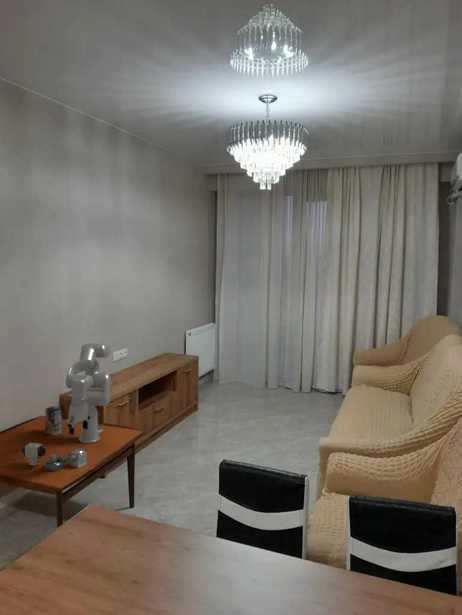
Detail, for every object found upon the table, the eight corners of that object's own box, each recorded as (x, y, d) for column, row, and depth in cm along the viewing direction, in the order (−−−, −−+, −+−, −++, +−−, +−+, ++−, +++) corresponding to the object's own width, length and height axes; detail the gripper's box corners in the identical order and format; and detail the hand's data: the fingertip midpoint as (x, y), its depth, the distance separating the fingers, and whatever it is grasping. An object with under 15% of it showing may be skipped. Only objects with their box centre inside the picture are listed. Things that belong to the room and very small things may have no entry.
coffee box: (62, 432, 299) (62, 408, 297) (54, 436, 293) (54, 411, 291) (53, 429, 303) (53, 405, 301) (45, 432, 298) (45, 408, 296)
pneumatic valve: (41, 467, 251) (41, 446, 250) (21, 464, 253) (21, 443, 252) (47, 463, 256) (47, 442, 255) (28, 460, 259) (27, 439, 257)
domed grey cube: (78, 461, 261) (78, 447, 260) (86, 463, 258) (86, 450, 257) (70, 465, 255) (70, 451, 254) (78, 467, 253) (78, 454, 252)
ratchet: (73, 453, 269) (73, 442, 269) (84, 457, 265) (84, 445, 264) (41, 468, 250) (41, 456, 249) (52, 473, 246) (52, 460, 245)
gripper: (85, 396, 262) (85, 425, 263) (61, 403, 246) (61, 435, 248) (95, 398, 258) (95, 428, 260) (71, 406, 243) (71, 438, 245)
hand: (78, 431), depth 254 cm, fingers open, 9 cm apart
